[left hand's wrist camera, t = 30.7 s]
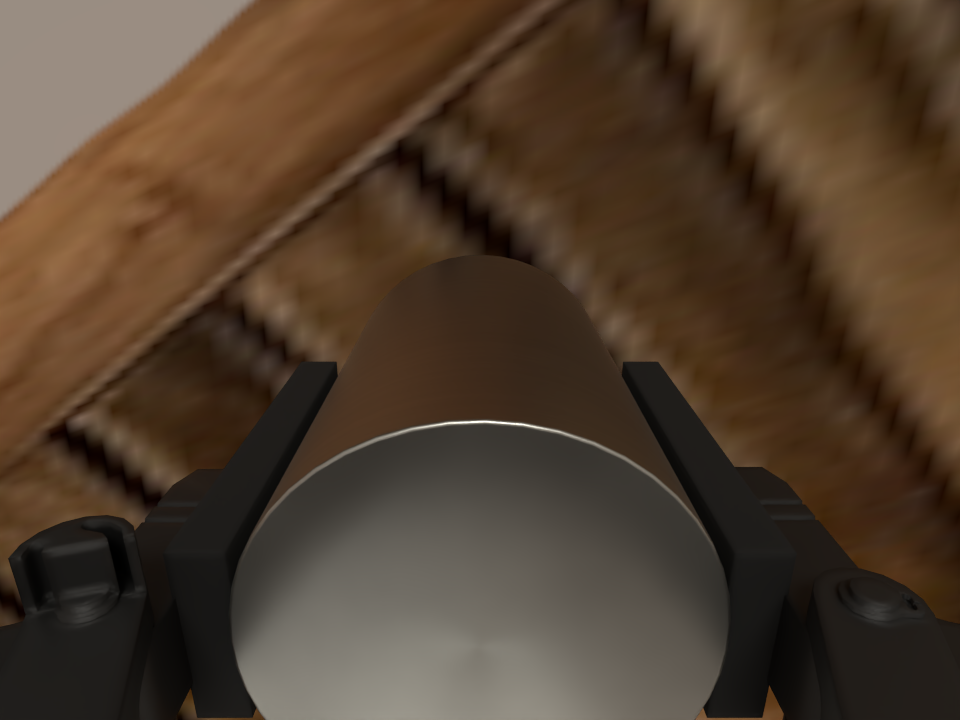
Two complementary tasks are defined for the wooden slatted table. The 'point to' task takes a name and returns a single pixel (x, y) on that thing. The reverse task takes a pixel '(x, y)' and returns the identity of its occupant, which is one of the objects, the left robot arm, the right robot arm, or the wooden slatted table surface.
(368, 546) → the can
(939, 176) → the wooden slatted table surface
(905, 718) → the left robot arm
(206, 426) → the wooden slatted table surface
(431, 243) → the wooden slatted table surface
